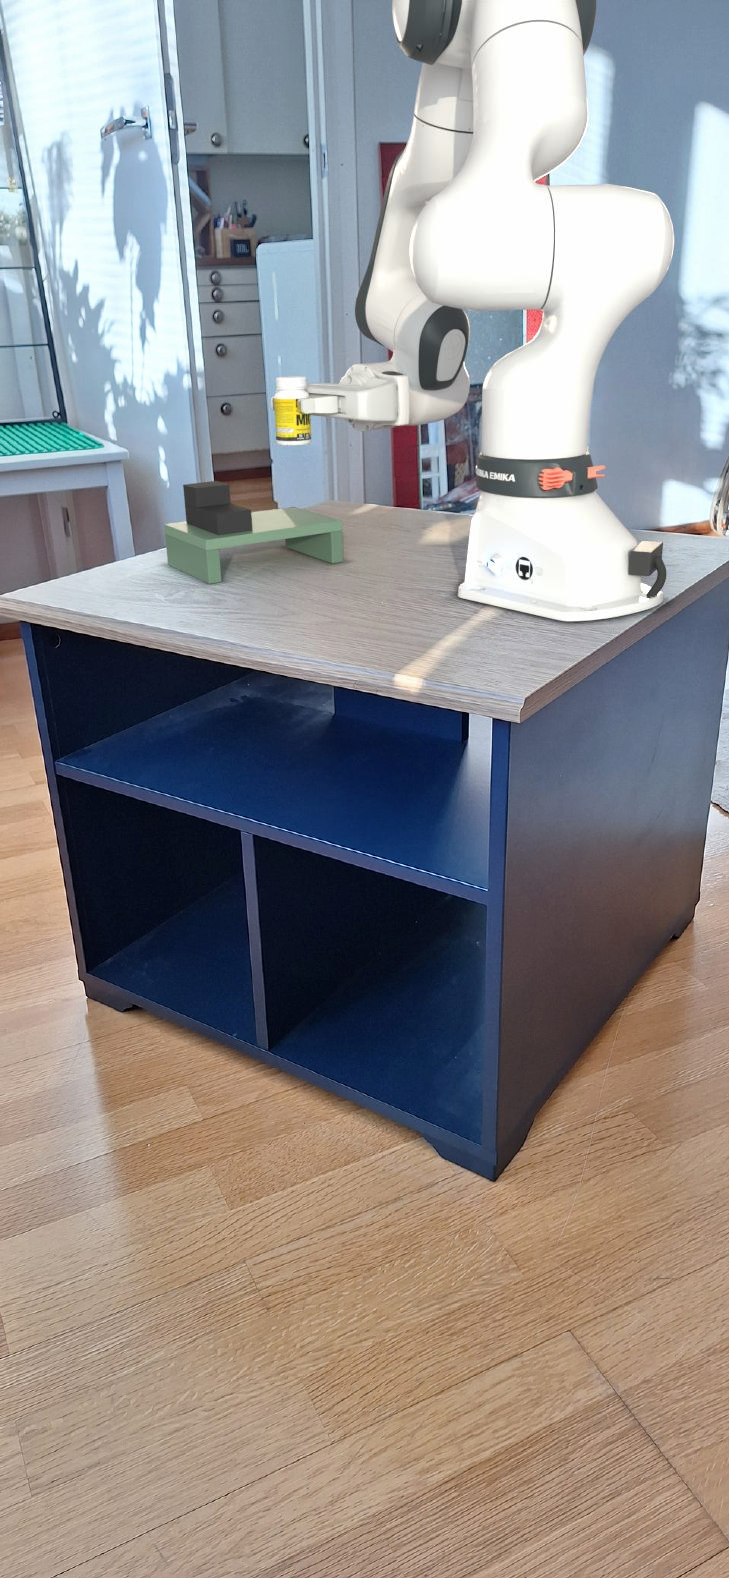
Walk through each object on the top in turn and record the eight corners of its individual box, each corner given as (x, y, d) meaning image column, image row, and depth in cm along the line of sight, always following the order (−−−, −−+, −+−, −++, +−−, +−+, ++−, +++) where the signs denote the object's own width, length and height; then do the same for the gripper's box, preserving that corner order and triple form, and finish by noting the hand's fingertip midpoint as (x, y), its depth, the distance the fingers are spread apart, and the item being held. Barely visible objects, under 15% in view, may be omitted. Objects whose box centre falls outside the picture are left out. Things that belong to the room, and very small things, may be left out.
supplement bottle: (300, 446, 146) (297, 378, 143) (269, 445, 148) (265, 378, 144) (318, 442, 150) (315, 376, 146) (287, 441, 152) (284, 375, 148)
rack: (343, 561, 136) (342, 520, 134) (209, 583, 127) (205, 540, 125) (295, 545, 145) (294, 506, 143) (167, 565, 137) (163, 524, 135)
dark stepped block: (252, 530, 130) (250, 490, 128) (218, 535, 128) (215, 494, 126) (219, 519, 137) (216, 480, 135) (186, 523, 135) (182, 484, 133)
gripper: (323, 370, 160) (242, 377, 153) (416, 375, 145) (331, 382, 138) (325, 416, 163) (245, 425, 155) (416, 426, 148) (333, 435, 140)
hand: (286, 405), depth 146 cm, fingers closed on supplement bottle, 5 cm apart
